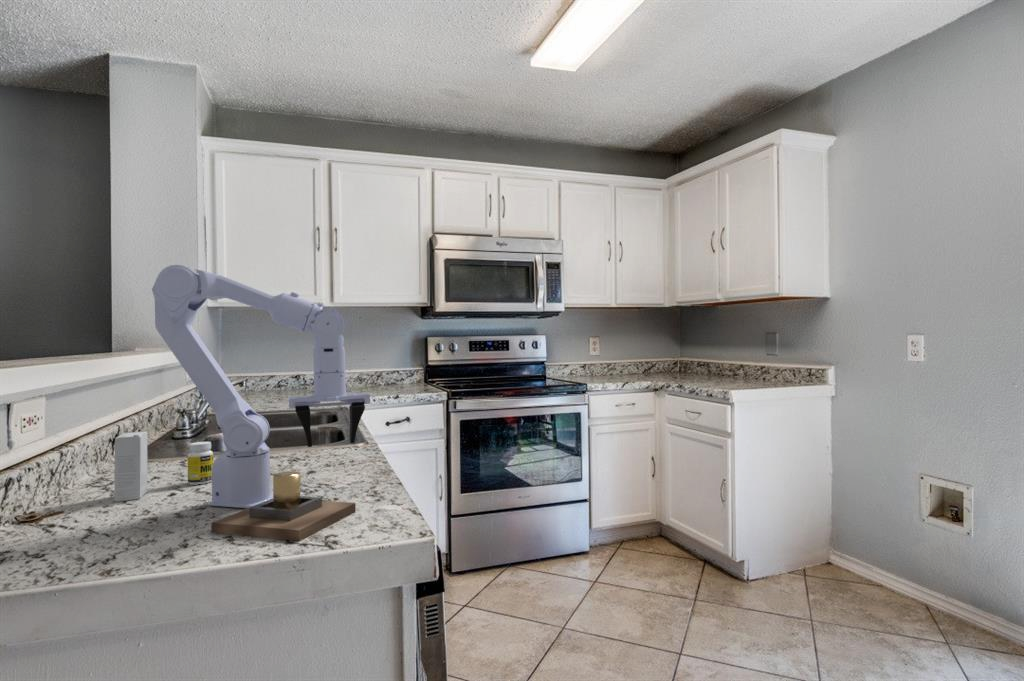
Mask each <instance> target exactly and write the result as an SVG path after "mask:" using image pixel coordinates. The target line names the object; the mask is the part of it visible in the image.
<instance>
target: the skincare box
mask: <svg viewBox="0 0 1024 681" xmlns="http://www.w3.org/2000/svg"><path fill="white" fill-rule="evenodd" d="M147 492H148V431H138V432H125V433H122V434H121V435H119V436H117V437H115V440H114V502H127V501H128V502H129V501H135V500H140V499H141V498H142V497H143V496H144V495H145V494H146V493H147Z"/></svg>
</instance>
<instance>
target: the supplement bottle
mask: <svg viewBox="0 0 1024 681" xmlns="http://www.w3.org/2000/svg"><path fill="white" fill-rule="evenodd" d="M188 448H189V453H188V454H187V484H188V485H189V484H190V486H199V485H198V484H202V485H206V484H205V483H207V484H210V483H212V466H213V463H214V452H213V451H212V450H211V449H212V442H211V441H196V442H192V443H189V447H188ZM209 482H210V483H209Z"/></svg>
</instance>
